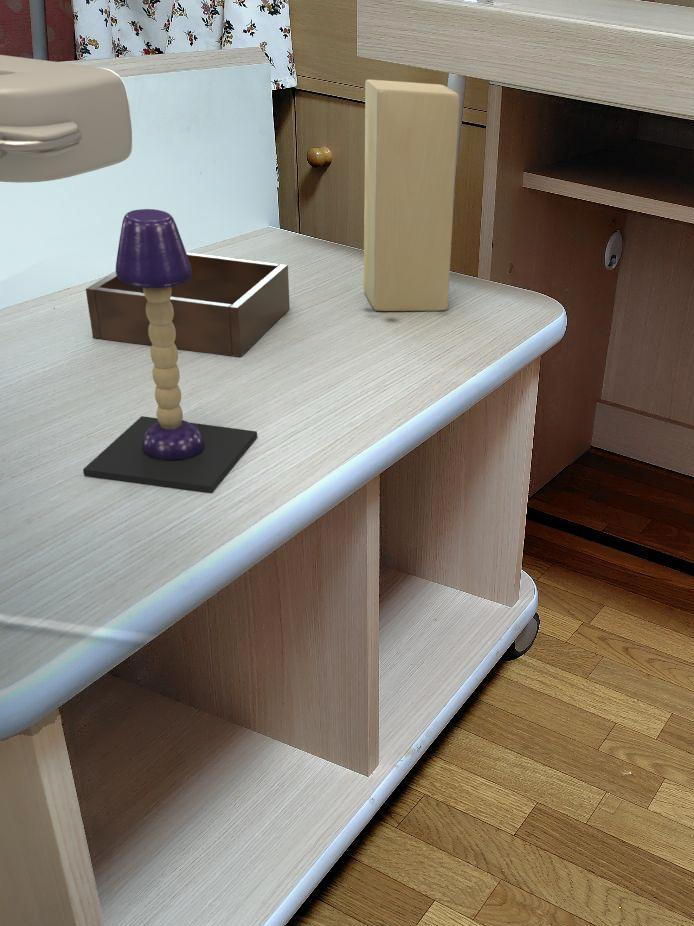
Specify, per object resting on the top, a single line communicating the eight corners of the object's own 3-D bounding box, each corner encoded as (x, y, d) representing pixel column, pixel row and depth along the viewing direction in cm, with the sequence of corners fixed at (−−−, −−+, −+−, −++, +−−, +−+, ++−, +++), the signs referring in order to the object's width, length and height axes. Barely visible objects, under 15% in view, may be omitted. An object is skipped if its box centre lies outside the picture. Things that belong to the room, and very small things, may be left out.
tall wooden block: (433, 288, 109) (441, 82, 98) (450, 311, 103) (460, 94, 92) (361, 289, 107) (361, 77, 96) (374, 312, 101) (375, 89, 90)
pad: (83, 475, 68) (82, 469, 67) (142, 421, 75) (141, 415, 75) (211, 492, 67) (211, 486, 67) (257, 437, 75) (257, 431, 75)
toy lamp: (221, 452, 71) (201, 217, 63) (162, 471, 68) (133, 227, 59) (184, 429, 74) (160, 200, 65) (125, 446, 71) (92, 208, 62)
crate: (92, 337, 88) (85, 288, 86) (158, 292, 100) (153, 247, 98) (241, 357, 88) (237, 308, 85) (289, 309, 99) (288, 264, 97)
